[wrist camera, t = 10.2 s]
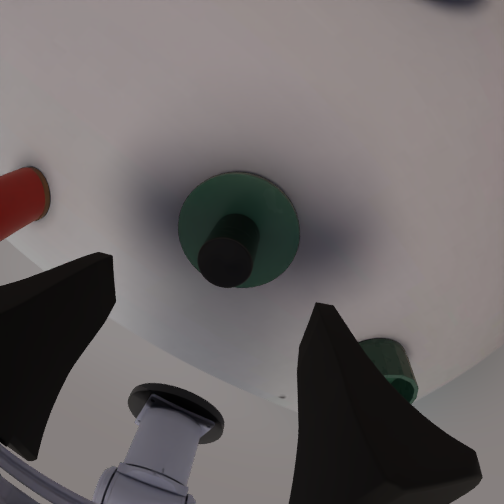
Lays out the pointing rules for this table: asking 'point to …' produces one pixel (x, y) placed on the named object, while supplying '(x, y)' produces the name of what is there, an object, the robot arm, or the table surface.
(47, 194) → the coaster
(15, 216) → the can
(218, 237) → the lid
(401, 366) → the green pot
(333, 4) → the table surface
